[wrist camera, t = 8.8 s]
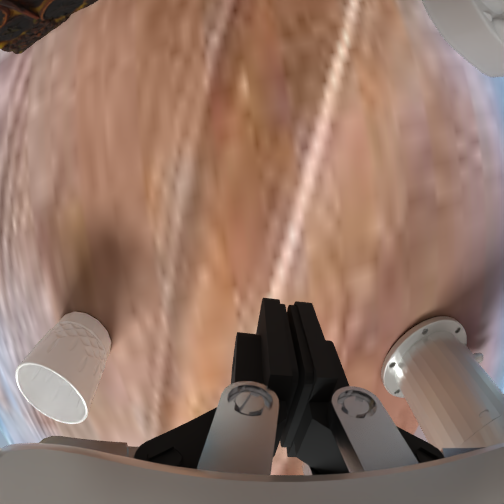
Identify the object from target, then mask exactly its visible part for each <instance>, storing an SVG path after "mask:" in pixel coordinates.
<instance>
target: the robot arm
mask: <svg viewBox="0 0 504 504" xmlns="http://www.w3.org/2000/svg"><path fill="white" fill-rule="evenodd" d="M466 343H467V336H466V331H465V329H464V328H463V326H462V325H461V324H460V323H459V322H458V321H457V320H455V319H454V318H451V317H447V316H439V317H434V318H431V319H428V320H426V321H423V322H421V323H419V324H418V325H416V326H414V327H413V328H412V329H410V330H409V331H407V332H406V333H405V334H404V335H403V336H402V337H401V338H400V339H399V340H398V341H397V342H396V343H395V344H394V346H393V347H392V348H391V350H390V351H389V353H388V354H387V356H386V358H385V360H384V363H383V366H382V371H381V378H382V382H383V384H384V386H385V388H386V390H387V391H388V392H389V393H390V394H392V395H393V396H397V397H403V398H405V399H406V401H407V403H408V404H409V406H410V408H411V410H412V412H413V414H414V416H415V418H416V419H417V421H418V423H419V425H420V427H421V429H422V431H423V433H424V435H425V436H426V438H427V440H428V442H429V443H428V442H426V441H424V440H422V439H420V438H418V437H416V436H414V435H412V434H410V433H408V432H406V431H404V430H402V429H401V428H399V427H397V426H396V425H395V424H394V422H393V421H392V419H391V418H390V416H389V414H388V413H387V411H386V410H385V408H384V407H383V405H382V403H381V402H380V400H379V399H378V398H377V397H376V396H375V395H374V394H373V393H371V392H370V391H368V390H365V389H363V388H359V387H351V386H349V384H348V381H347V378H346V376H345V373H344V370H343V368H342V365H341V362H340V360H339V357H338V354H337V352H336V349H335V347H334V344H333V342H332V341H326V340H325V338H324V335H323V333H322V330H321V327H320V324H319V321H318V319H317V316H316V313H315V310H314V308H313V305H312V303H306V302H295V303H294V305H289V306H288V310H287V312H286V307H285V304H280V301H279V300H278V299H269V298H263V299H262V304H261V310H260V315H259V321H258V327H257V332H256V334H248V333H240V332H237V336H236V342H235V349H234V357H233V365H232V377H231V384H230V385H229V386H228V387H226V388H225V389H224V391H223V393H222V395H221V398H220V401H219V404H218V407H217V408H215V409H213V410H211V411H209V412H207V413H205V414H203V415H201V416H199V417H197V418H195V419H193V420H191V421H189V422H187V423H185V424H183V425H181V426H179V427H177V428H175V429H173V430H171V431H168V432H166V433H164V434H162V435H160V436H158V437H155V438H153V439H151V440H149V441H147V442H145V443H144V444H142V445H141V446H140V447H129V446H128V445H127V443H123V442H108V441H96V440H87V439H78V438H70V437H63V436H51V437H48V438H45V439H43V440H42V441H41V442H39V443H21V444H13V445H9V446H6V447H3V448H0V504H504V394H503V393H502V392H501V390H500V389H499V388H498V386H497V385H496V384H495V383H494V382H493V380H492V379H491V378H490V377H489V375H488V374H487V373H486V372H485V371H484V369H483V368H482V367H481V366H480V365H479V363H480V362H482V361H483V354H482V353H475V354H473V353H472V352H471V351H470V350H469V349H468V348H467V346H466ZM279 442H280V443H281V447H287V456H288V457H297V458H299V459H300V460H302V461H303V465H302V468H303V473H304V475H270V474H271V467H272V459H273V457H274V456H275V453H276V450H277V447H278V444H279Z"/></svg>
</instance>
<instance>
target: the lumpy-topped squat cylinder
mask: <svg viewBox="0 0 504 504" xmlns="http://www.w3.org/2000/svg"><path fill="white" fill-rule="evenodd" d="M422 1H423V4H424V6H425V9H426V11H427V13H428V15H429V17H430V18H431V20H432V22H433V23H434V25H435V26H436V28H437V29H438V31H439V33H440V34H441V35H442V37H443V38H444V40H445V41H446V42H447V43H448V44H449V45H450V46H451V47H452V48H453V49H454V50H455V51H456V52H457V53H459V54H460V55H461V56H462V57H463V58H464V59H465V60H467V61H468V62H469V63H470V64H471V65H473V66H474V67H475V68H477V69H478V70H479V71H480V72H482V73H483V74H485V75H487V76H489V77H504V0H422Z"/></svg>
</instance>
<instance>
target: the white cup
mask: <svg viewBox="0 0 504 504" xmlns="http://www.w3.org/2000/svg"><path fill="white" fill-rule="evenodd" d="M110 349H111V340H110V337H109V334H108V332H107V330H106V329H105V328H104V326H103V325H102V324H101V323H100V322H99V321H98V320H97V319H95V318H93V317H92V316H90V315H88V314H87V313H81V312H76V311H74V312H71V313H68V314H65V315H64V316H63V317H62V318H61V320H60V321H59V322H58V323H57V324H56V325H55V326H54V327H53V328H52V329H50V330H49V331H48V332H47V333H46V335H45V336H44V337H43V338H42V339H41V340H40V341H39V342H38V343H37V344H36V346H35V347H34V348H33V349H32V350H31V352H30V353H29V354H28V355H27V356H26V358H25V359H24V360H23V361H22V362H21V364H20V365H19V366H18V367H17V369H16V373H15V377H16V382H17V385H18V387H19V389H20V391H21V392H22V394H23V395H24V397H25V398H26V399H27V400H28V401H29V403H30V404H31V405H33V406H34V407H35V408H36V409H37V410H39V411H40V412H41V413H43V414H44V415H46V416H48V417H50V418H52V419H54V420H56V421H59V422H62V423H67V424H77V423H80V422H82V421H84V420H85V419H86V417H87V415H88V412H89V409H90V406H91V404H92V401H93V398H94V395H95V393H96V390H97V387H98V385H99V382H100V379H101V376H102V373H103V371H104V368H105V364H106V361H107V358H108V356H109V354H110Z"/></svg>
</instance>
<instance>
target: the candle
mask: <svg viewBox="0 0 504 504" xmlns="http://www.w3.org/2000/svg"><path fill="white" fill-rule="evenodd" d="M96 1H98V0H0V49H2V50H3V51H7V52H11V51H13V52H14V53H15V54H19V53H22V52H23V51H25V50H26V49H27V48H29V47H30V46H31V45H32V44H33V43H35V42H36V41H37V40H40V39H41V38H42V37H44V36H45V35H46V34H48V33H49V32H50V31H51V30H53V29H55V28H57V27H58V26H59V25H60V24H61V23H62V22H65V21H66V20H67V18H68V17H69V16H70V15H71V14H72V13H74V12H76V11H78V10H80V9H82V8H85V7H87V6H89V5H91V4H93V3H94V2H96Z"/></svg>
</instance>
